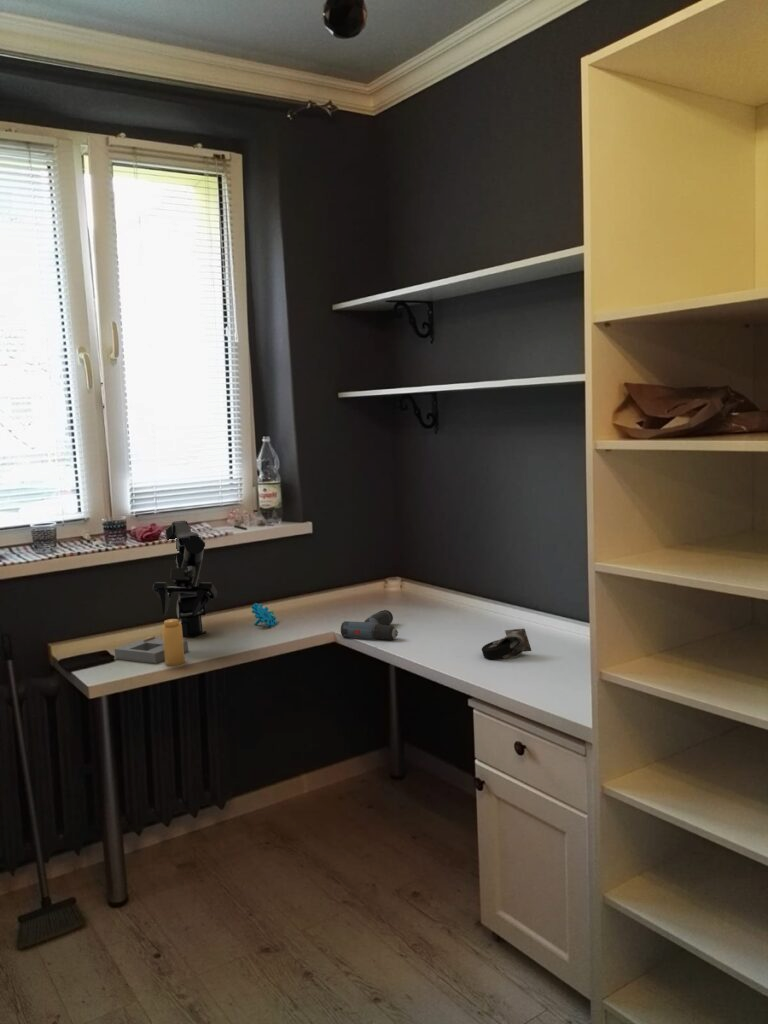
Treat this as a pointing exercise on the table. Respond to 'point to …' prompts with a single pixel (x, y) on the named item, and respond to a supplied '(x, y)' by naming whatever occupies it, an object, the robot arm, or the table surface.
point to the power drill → (371, 627)
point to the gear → (263, 615)
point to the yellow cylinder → (173, 642)
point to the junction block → (144, 650)
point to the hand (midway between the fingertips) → (178, 615)
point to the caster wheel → (508, 645)
